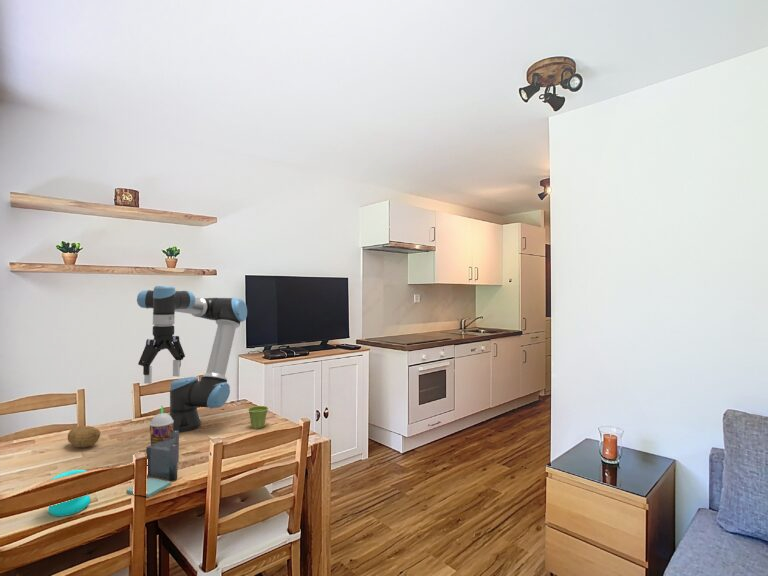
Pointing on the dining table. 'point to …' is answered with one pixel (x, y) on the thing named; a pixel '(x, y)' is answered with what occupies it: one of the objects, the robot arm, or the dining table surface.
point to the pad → (153, 486)
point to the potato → (83, 436)
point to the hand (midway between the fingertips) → (162, 379)
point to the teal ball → (71, 505)
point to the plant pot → (258, 416)
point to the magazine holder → (164, 457)
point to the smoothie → (160, 427)
